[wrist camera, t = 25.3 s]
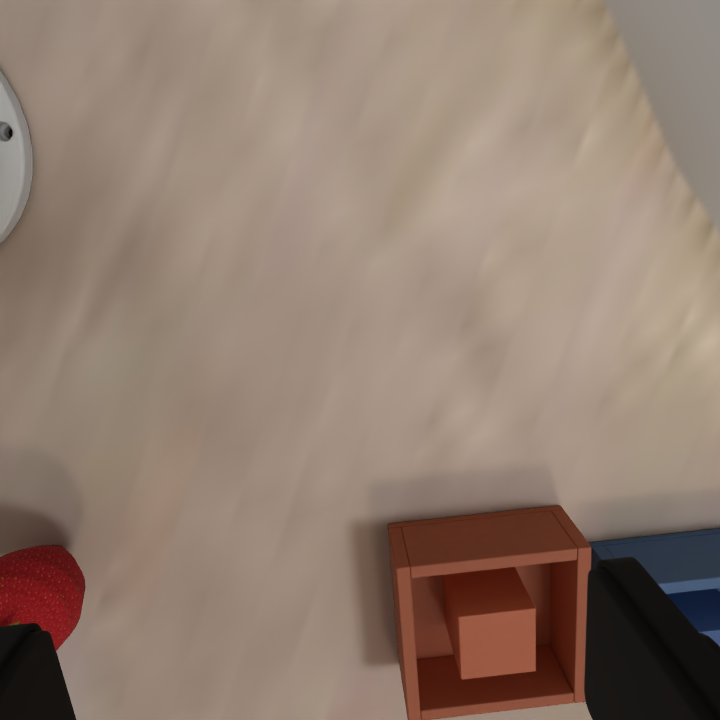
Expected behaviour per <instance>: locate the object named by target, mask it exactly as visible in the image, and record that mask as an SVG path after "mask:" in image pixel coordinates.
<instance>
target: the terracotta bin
mask: <svg viewBox="0 0 720 720" xmlns="http://www.w3.org/2000/svg"><path fill="white" fill-rule="evenodd" d="M388 534H389V546H390V558H391V570H392V582H393V594H394V606H395V618H396V629H397V641H398V653H399V665H400V671H401V678H402V684H403V691H404V697H405V704H406V711H407V717H408V720H431V719H440V718H448V717H457V716H465V715H474V714H482V713H491V712H499V711H508V710H516V709H525V708H533V707H542V706H550V705H559V704H567V703H573V701H574V703H578V702H586V700H585V694H584V678H585V646H586V615H587V583H588V573H589V571H590V570H591V546H590V544H589V543H588V542H587V540H586V539H585V538H584V536H583V535H582V534H581V532H580V531H579V530H578V528H577V527H576V526H575V524H574V523H573V522H572V520H571V519H570V518H569V516H568V515H567V514H566V512H565V511H564V510H563V508H562V507H561V506H560V505H559V506H549V507H540V508H531V509H522V510H512V511H503V512H494V513H484V514H475V515H466V516H456V517H447V518H438V519H429V520H419V521H410V522H401V523H391V524H388ZM509 567H515V568H516V570H517V572H518V574H519V576H520V578H521V580H522V582H523V584H524V586H525V588H526V590H527V592H528V594H529V596H530V598H531V600H532V602H533V604H534V606H535V608H536V671H532V672H524V673H515V674H506V675H498V676H489V677H480V678H472V679H463V680H462V679H461V678H460V674H459V671H458V667H457V663H456V660H455V656H454V652H453V649H452V645H451V642H450V638H449V634H448V631H447V627H446V618H445V599H444V580H443V575H446V574H455V573H464V572H473V571H482V570H491V569H500V568H509Z"/></svg>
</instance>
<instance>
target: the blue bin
mask: <svg viewBox="0 0 720 720" xmlns="http://www.w3.org/2000/svg"><path fill="white" fill-rule="evenodd" d="M589 544H590V546H591V570H595V569H596V567H597V563H598V561H600V560H605V559H614V558H623V557H633V558H635V559H636V560H637V561H639V563H640V564H641V565H642V566H643V567H644V568H645V570H646V571H647V572H648V573H649V574H650V575H651V577H652V578H653V579H654V580H655V581H656V583H657V584H658V585H659V586H660V587H661V588H662V590H663V591H664V592H665V593H666V594H671V593H680V592H689V591H697V590H706V589H715V588H716V589H717V590H718V591H719V592H720V528H718V529H709V530H700V531H691V532H682V533H673V534H664V535H655V536H645V537H636V538H627V539H618V540H609V541H600V542H591V543H589Z"/></svg>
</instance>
